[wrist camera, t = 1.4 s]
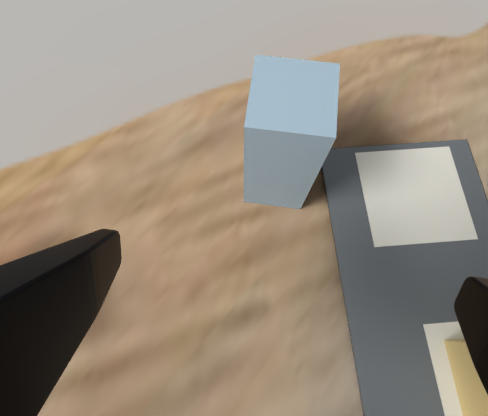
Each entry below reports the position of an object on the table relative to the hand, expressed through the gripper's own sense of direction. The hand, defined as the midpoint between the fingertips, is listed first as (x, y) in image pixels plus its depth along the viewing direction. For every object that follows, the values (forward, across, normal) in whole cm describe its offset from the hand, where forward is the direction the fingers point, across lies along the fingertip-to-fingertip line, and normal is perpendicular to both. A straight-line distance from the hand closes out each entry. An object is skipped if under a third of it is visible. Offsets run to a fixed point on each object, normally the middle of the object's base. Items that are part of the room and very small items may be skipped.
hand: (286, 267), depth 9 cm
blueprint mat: (+12, -10, +7) cm, 17 cm away
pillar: (+16, 0, +3) cm, 16 cm away
